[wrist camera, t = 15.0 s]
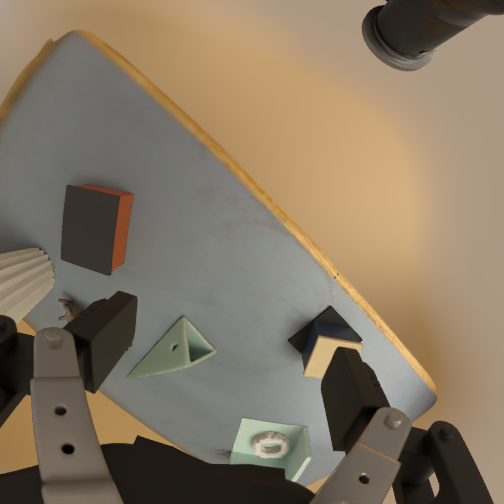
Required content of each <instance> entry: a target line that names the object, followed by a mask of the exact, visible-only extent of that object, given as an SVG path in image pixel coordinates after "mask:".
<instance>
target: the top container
mask: <svg viewBox="0 0 504 504" xmlns="http://www.w3.org/2000/svg"><path fill="white" fill-rule="evenodd" d="M339 346H341V347H347V348H353V349H357V351H358V353H360V351H361V349H362V347H363V344H362V343H360V342H359V340H358V338H357V336H356V334H355V332H354V330H353V328H348V327H343V326H338V325H333V324H328V323H323V322H318V321H314V324H313V327H312V329H311V332H310V335H309V337H308V340H307V342H306V345H305V348H304V350H303V353H302V360H303V365H304V372H303V375H304V376H309V377H316V378H322V379H323V376H324V374H325V372H326V370H327V367H328V365H329V363H330V361H331V359H332V356H333V354H334V352H335V350H336V348H337V347H339Z"/></svg>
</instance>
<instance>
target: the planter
mask: <svg viewBox="0 0 504 504" xmlns="http://www.w3.org/2000/svg"><path fill="white" fill-rule="evenodd" d="M216 352H217V351H216V350H215V349H214V347H213V346H212V345H211V344H210V343H209V342H208V341H207V340H206V339H205V338H204V337H203V336H202V334H201V333H200V332H199V331H198V330H197V329H196V328H195V327H194V326H193V325H192V323H191V322H190V321H189V320H188V319H187V318H186V317H185V316H183V317H182V318H181V319H180V320H179V321H178V322H177V323H176V324H175V325H174V326H173V327H172V328H171V329H170V330H169V331H168V332H167V333H166V334H165V336H164V337H163V338H162V339H161V340H160V341H159V342H158V343H157V344H156V345H155V346H154V348H153V349H152V350H151V351H150V352H149V353H148V354H147V355H146V356H145V357H144V359H143V360H142V361H141V362H140V363H139V364H138V365H137V366H136V367H135V369H134V370H133V371H132V372H131V373H130V374H129V375H128V377H127V380H129V379H135V378H141V377H146V376H152V375H157V374H162V373H166V372H171V371H176V370H180V369H184V368H188V367H190V366H193V365H195V364H197V363H199V362H201V361H203V360H205V359H207V358H208V357H210V356H212V355H214V354H216Z"/></svg>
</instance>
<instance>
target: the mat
mask: <svg viewBox="0 0 504 504" xmlns="http://www.w3.org/2000/svg"><path fill="white" fill-rule="evenodd" d="M314 321H318V322H323V323H328V324H333V325H338V326H343V327H348V328H351V327H350V325H349V324H348V323H347V322H346V321H345V320H344V319H343V318H342V317H341V316H340V315H339V314H338V313H337V312H336V311H335V309H334V308H333V307H332V306H330V307H328V308H327V309H326V310H325V311H324V312H322V313H321V314H320V315H319V316H318V317H316V318H315V319H314V320H313V321H312V322H310V323H309V324H308V325H307V326H305V327H304V328H303V329H302V330H300V331H299V332H298V333H297V334H295V335H294V336H293V337H292V338H290V339H289V340H288V342H289V343H290V344H291V345H293V346H294V347H295V348H296V349H297V350H298V351H299V352H300V353H301V354H302V353H303V350H304V348H305V345H306V342H307V340H308V337H309V335H310V332H311V329H312V327H313V324H314ZM354 332H355V331H354ZM355 334H356V336H357V338H358V340H359V342H361V341H362V338H361V337H360V336H359V335H358V334H357V333H356V332H355Z"/></svg>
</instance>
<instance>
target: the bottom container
mask: <svg viewBox="0 0 504 504" xmlns="http://www.w3.org/2000/svg"><path fill="white" fill-rule="evenodd" d="M132 200H133V194H129V193H125V192H120V191H116V190H111V189H106V188H101V187H97V186H92V185H80V186H71V185H67V188H66V196H65V205H64V215H63V227H62V243H61V260H63V261H66V262H69V263H72V264H75V265H78V266H81V267H84V268H87V269H90V270H93V271H96V272H99V273H102V274H105V275H108V276H110V275H111V272H112V271H113V270H115V269H116V268H118V267H119V266H120V265H122V264H123V263H124V258H125V249H126V241H127V233H128V226H129V219H130V213H131V206H132Z"/></svg>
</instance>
